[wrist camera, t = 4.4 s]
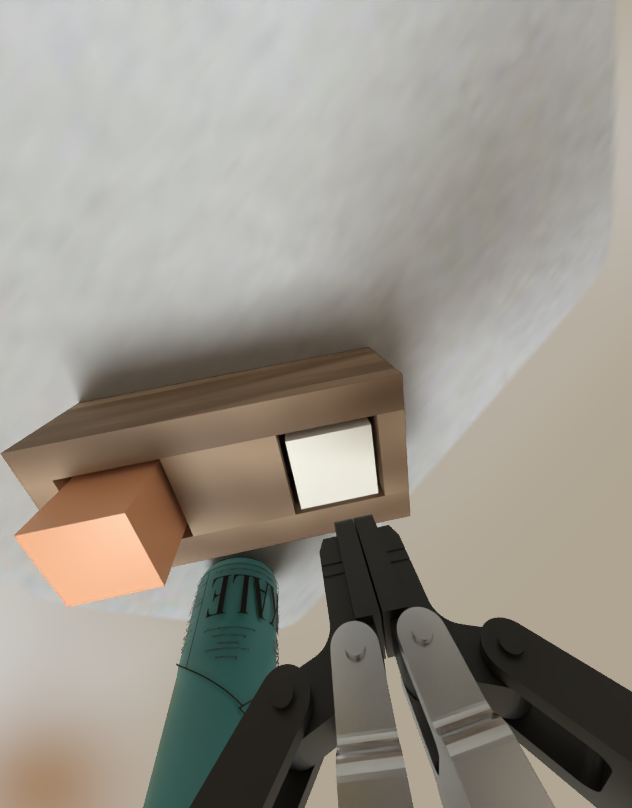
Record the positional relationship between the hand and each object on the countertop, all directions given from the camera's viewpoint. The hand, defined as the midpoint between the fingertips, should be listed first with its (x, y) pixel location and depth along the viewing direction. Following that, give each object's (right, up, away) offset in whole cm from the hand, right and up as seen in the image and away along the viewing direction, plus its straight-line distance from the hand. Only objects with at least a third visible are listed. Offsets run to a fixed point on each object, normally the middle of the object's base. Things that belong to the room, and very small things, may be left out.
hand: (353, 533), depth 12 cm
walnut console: (-7, +3, +10) cm, 12 cm away
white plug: (-1, +4, +9) cm, 10 cm away
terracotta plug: (-11, 0, +6) cm, 13 cm away
